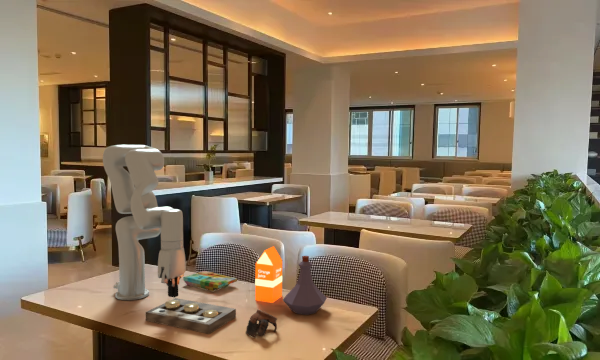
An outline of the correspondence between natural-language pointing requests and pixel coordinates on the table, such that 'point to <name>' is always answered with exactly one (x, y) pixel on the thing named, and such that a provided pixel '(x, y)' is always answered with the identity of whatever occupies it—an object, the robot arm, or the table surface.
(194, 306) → the button middle
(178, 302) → the button
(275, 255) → the orange juice
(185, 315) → the button board
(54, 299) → the table surface
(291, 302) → the flask
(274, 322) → the brown goggles
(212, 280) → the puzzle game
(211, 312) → the button
